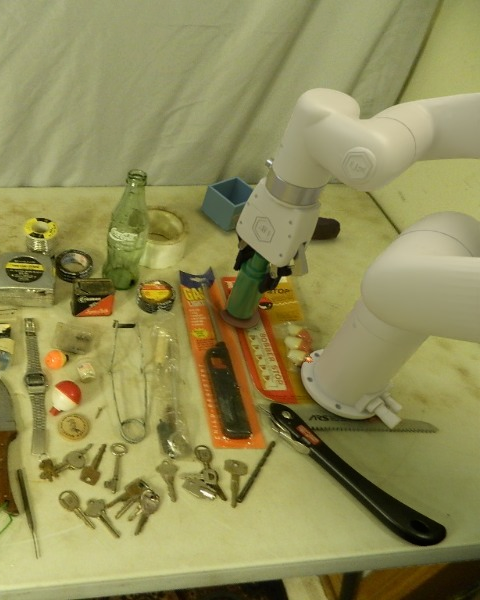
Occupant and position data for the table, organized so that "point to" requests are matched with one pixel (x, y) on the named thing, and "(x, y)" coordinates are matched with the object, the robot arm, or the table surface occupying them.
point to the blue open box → (226, 201)
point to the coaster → (240, 322)
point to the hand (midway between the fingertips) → (253, 277)
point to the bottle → (248, 287)
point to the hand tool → (326, 229)
